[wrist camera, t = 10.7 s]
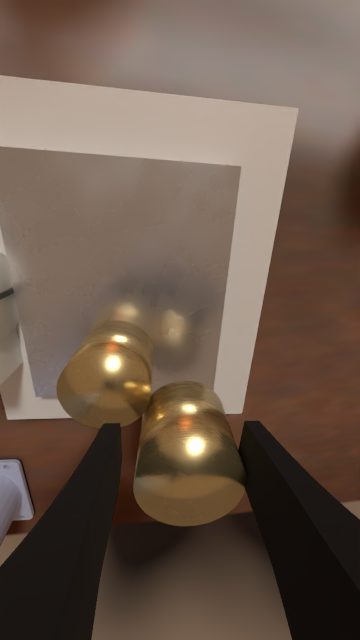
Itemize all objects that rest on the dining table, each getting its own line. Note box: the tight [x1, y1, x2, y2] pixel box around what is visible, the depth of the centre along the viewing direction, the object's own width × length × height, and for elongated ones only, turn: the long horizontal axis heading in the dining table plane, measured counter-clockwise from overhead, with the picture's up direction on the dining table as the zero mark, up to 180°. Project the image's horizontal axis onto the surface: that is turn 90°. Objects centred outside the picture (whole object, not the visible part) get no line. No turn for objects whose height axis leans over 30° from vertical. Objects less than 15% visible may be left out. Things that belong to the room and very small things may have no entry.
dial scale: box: [0, 75, 299, 420], centre depth 14 cm, size 18×20×6 cm
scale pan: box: [0, 146, 241, 397], centre depth 14 cm, size 12×14×1 cm
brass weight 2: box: [133, 381, 247, 526], centre depth 11 cm, size 4×4×4 cm
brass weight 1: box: [56, 320, 154, 429], centre depth 13 cm, size 4×4×4 cm
